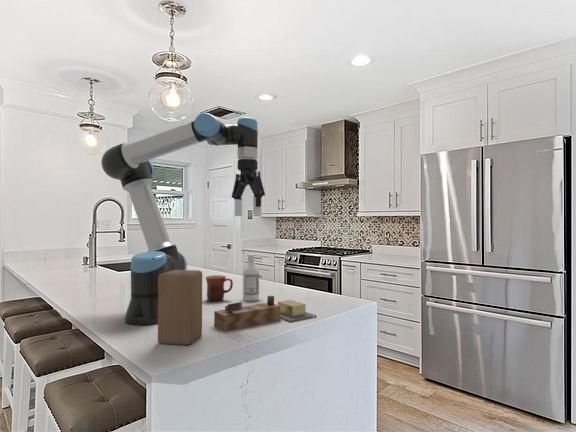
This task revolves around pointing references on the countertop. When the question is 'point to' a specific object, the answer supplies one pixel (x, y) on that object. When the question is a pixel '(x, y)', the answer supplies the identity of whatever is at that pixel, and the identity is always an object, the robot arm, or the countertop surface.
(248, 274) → the bath foam
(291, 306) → the pale yellow block
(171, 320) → the block
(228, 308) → the lever
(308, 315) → the mat
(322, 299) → the countertop surface
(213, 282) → the mug
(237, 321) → the plane body
